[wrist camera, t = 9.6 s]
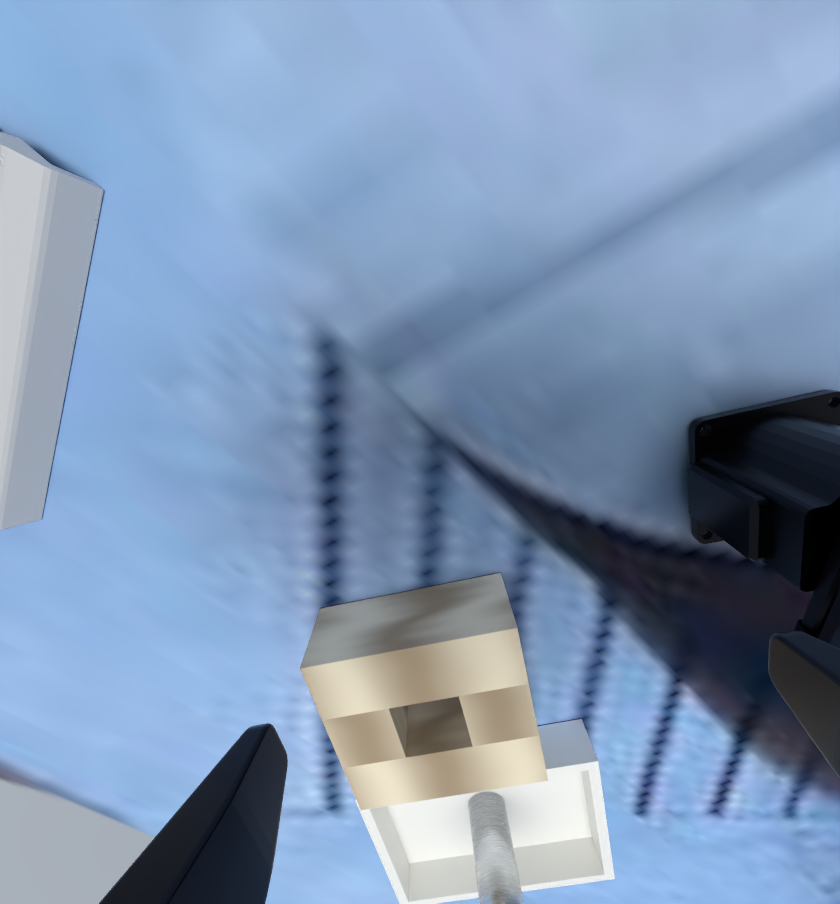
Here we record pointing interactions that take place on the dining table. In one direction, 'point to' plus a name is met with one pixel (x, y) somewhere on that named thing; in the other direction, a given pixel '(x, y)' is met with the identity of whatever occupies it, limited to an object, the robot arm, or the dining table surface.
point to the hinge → (37, 314)
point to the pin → (493, 851)
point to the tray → (530, 820)
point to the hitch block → (425, 693)
